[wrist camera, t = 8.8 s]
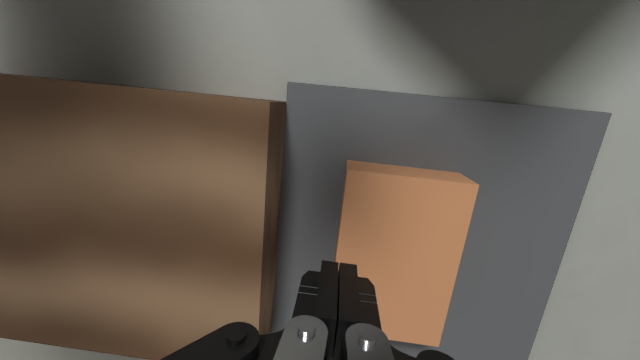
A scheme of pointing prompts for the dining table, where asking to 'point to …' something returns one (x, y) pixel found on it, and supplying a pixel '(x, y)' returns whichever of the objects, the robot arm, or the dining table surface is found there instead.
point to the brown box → (135, 214)
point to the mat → (453, 156)
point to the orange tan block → (406, 242)
